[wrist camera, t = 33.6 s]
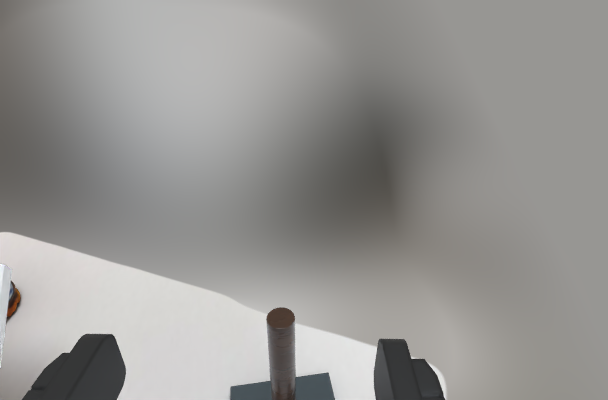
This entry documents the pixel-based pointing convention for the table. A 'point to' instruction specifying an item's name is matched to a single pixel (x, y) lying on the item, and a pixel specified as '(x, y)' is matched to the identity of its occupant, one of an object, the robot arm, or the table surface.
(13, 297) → the burger
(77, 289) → the table surface
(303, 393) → the square plate
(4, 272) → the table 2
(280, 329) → the stirrer
